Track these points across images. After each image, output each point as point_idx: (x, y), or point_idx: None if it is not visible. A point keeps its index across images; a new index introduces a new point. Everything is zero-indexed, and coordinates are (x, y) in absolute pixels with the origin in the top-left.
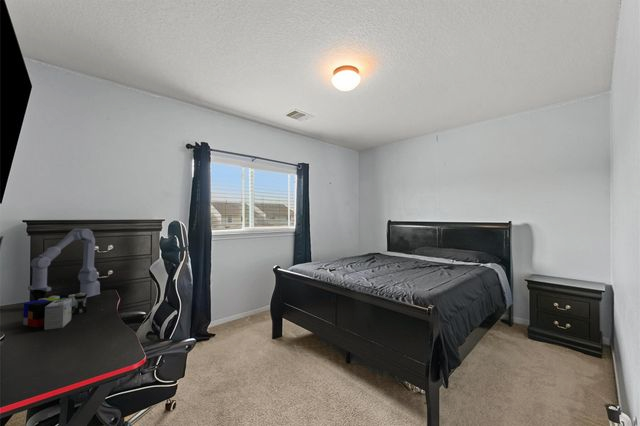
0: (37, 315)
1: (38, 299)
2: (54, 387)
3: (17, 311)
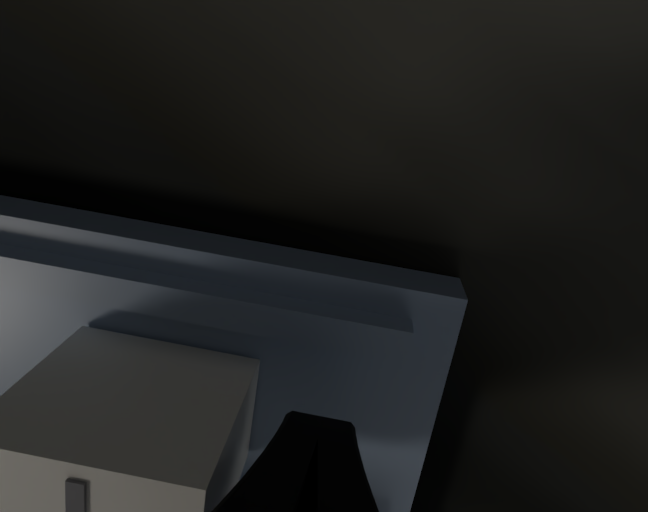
0: None
1: (193, 484)
2: None
3: (542, 111)
